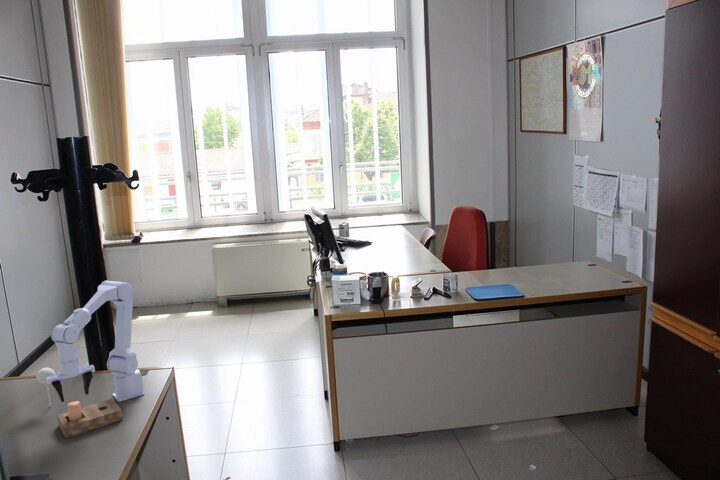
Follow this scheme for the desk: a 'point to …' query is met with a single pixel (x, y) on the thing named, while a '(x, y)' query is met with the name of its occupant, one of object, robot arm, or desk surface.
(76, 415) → the pin
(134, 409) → the desk surface
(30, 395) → the desk surface
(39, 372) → the lollipop
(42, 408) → the desk surface
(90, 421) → the socket block
